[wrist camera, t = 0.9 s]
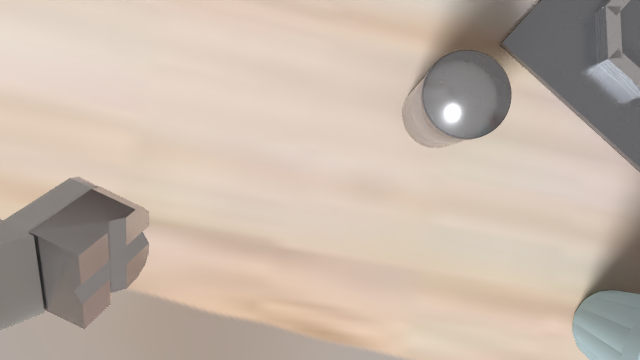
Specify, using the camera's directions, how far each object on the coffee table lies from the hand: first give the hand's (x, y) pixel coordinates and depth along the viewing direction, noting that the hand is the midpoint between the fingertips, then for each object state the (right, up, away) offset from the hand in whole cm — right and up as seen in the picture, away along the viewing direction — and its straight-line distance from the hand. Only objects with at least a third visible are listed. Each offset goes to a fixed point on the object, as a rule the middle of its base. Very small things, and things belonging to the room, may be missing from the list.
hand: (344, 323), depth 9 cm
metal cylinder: (+8, +7, +31) cm, 33 cm away
